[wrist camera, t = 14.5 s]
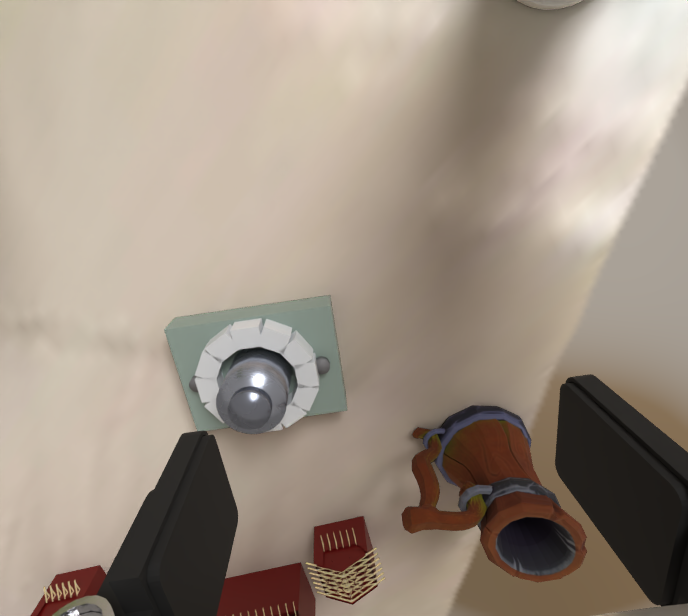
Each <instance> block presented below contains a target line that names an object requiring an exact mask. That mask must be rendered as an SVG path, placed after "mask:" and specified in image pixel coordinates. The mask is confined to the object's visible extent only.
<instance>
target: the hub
mask: <svg viewBox="0 0 688 616" xmlns="http://www.w3.org/2000/svg"><path fill="white" fill-rule="evenodd" d="M291 375H292V369H291V364H290V363H289V362H288V361H287V360H286V359H285V358H284V357H283V356H282V355H281V353H278V352H275V351H272V350H268V349H265V348H262V347H254V348H247V349H242V350H241V351H240V352H239V353H238V354H237V355H236V356H235V358H234V360H233V362H232V364H231V366H230V368H229V370H228V372H227V374H226V376H225V379H224V381H223V383H222V385H221V387H220V389H219V391H218V394H217V397H216V408H217V411H218V414H219V416H220V417H221V419H222V420H223V421H224V422H225V423H226V424H227V425H228V426H229V427H231V428H232V429H234V430H236V431H239V432H242V433H246V434H259V433H264V432H267V431H269V430H271V429H273V428H274V427H276V426H277V425H278V424H279V423H280V422H281V420H282V419H283V417H284V415H285V412H286V407H287V401H288V394H289V388H290V382H291Z"/></svg>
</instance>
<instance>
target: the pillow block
mask: <svg viewBox="0 0 688 616" xmlns="http://www.w3.org/2000/svg"><path fill="white" fill-rule="evenodd" d="M164 331H165V334H166V337H167V340H168V343H169V346H170V349H171V352H172V355H173V358H174V361H175V365H176V368H177V371H178V374H179V377H180V380H181V383H182V386H183V389H184V392H185V395H186V398H187V401H188V404H189V407H190V410H191V413H192V416H193V419H194V422H195V425H196V429H197V431H203V430H204V431H209V430H216V429H223V428H230V427H229V426H228V425H227V424H226V423H225V422H224V421H223V420H222V419H221V417H220V416H219V414H218V411H217V408H216V397H217V394H218V391H219V389H220V387H221V385H222V383H223V381H224V379H225V376H226V374H227V372H228V370H229V368H230V366H231V364H232V362H233V360H234V358H235V356H236V355H237V354H238V353H239V352H240V351H241V350H242V349H247V348H254V347H262V348H265V349H268V350H272V351H275V352H278V353H281V355H282V356H283V357H284V358H285V359H286V360H287V361H288V362H289V363H290V364H291V369H292V375H291V382H290V388H289V394H288V401H287V407H286V412H285V415H284V417H283V419H282V420H281V422H280V423H279V424H278V425H277V426H276V427H274V428H273V429H271V430H269V431H267V432H270V431H277V430H283V425H284V426H285V427H286V428H288V427H289V426H290V425H292V424H293V423H295V422H296V421H298V420H299V419H301V418H302V417H306V416H313V415H320V414H327V413H333V412H340V411H347V402H346V393H345V386H344V380H343V374H342V367H341V361H340V355H339V348H338V342H337V336H336V329H335V323H334V317H333V310H332V304H331V298H330V295H328V296H321V297H314V298H307V299H300V300H293V301H286V302H280V303H273V304H266V305H259V306H252V307H245V308H238V309H231V310H225V311H218V312H211V313H204V314H197V315H190V316H183V317H176V318H174V319H173V320H172V321H171V323H170V324H169V325H168V326H167V327H166V328H165V329H164Z"/></svg>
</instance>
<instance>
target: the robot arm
mask: <svg viewBox="0 0 688 616" xmlns="http://www.w3.org/2000/svg"><path fill="white" fill-rule="evenodd" d="M516 1H518V2H520V3H522V4H525V5H527V6H529V7H532V8H537V9H542V10H551V9H561V8H565V7H568V6H572V5H574V4H576V3H578V2H580V1H582V0H516ZM555 465H556V470H557V472H558V475H559V476H560V478H561V479H562V481H563V482H564V484H565V485H566V486H567V488H568V489H569V490H570V492H571V493H572V494H573V496H574V497H575V499H576V500H577V501H578V503H579V504H580V505H581V507H582V508H583V509H584V511H585V512H586V514H587V515H588V516H589V518H590V519H591V521H592V522H593V523H594V525H595V526H596V527H597V529H598V530H599V531H600V533H601V534H602V535H603V537H604V538H605V540H606V541H607V542H608V544H609V545H610V547H611V548H612V549H613V551H614V552H615V553H616V555H617V556H618V558H619V559H620V560H621V562H622V563H623V564H624V566H625V567H626V568H627V570H628V571H629V573H630V574H631V575H632V577H633V578H634V579H635V581H636V582H637V584H638V585H639V586H640V588H641V589H642V590H643V592H644V593H645V595H646V596H647V597H648V598H649V600H651V602H652V603H654V604H656V605H661V607H654V608H645V609H638V610H630V611H623V612H616V613H609V614H601V615H594V616H688V452H687V451H685V450H684V449H683V448H682V447H680V446H679V445H678V444H677V443H676V442H674V441H673V440H672V439H671V438H669V437H668V436H667V435H666V434H665V433H663V432H662V431H661V430H660V429H659V428H657V427H656V426H655V425H654V424H653V423H651V422H650V421H649V420H648V419H646V418H645V417H644V416H643V415H642V414H640V413H639V412H638V411H637V410H636V409H634V408H633V407H632V406H631V405H629V404H628V403H627V402H626V401H625V400H623V399H622V398H621V397H620V396H619V395H617V394H616V393H615V392H614V391H612V390H611V389H610V388H609V387H608V386H606V385H605V384H604V383H603V382H602V381H600V380H599V379H598V378H597V377H595V376H594V375H583V376H576V377H570V378H568V379H567V380H566V384H562V386H561V388H560V401H559V415H558V429H557V444H556V459H555ZM237 523H238V511H237V507H236V503H235V500H234V497H233V494H232V490H231V487H230V484H229V481H228V478H227V474H226V471H225V468H224V465H223V462H222V458H221V455H220V452H219V449H218V445H217V442H216V439H215V437H214V435H208V433H207V432H206V431H204V430H203V431H196V432H189V433H184V434H182V435H181V437H180V439H179V441H178V443H177V445H176V447H175V449H174V451H173V453H172V455H171V457H170V459H169V461H168V463H167V465H166V467H165V469H164V471H163V473H162V475H161V477H160V479H159V481H158V483H157V485H156V487H155V489H154V490H152V491H151V492H149V494H148V495H147V497H146V499H145V501H144V502H143V504H142V506H141V508H140V510H139V512H138V514H137V516H136V518H135V520H134V522H133V524H132V526H131V528H130V530H129V532H128V534H127V536H126V538H125V540H124V542H123V544H122V546H121V548H120V550H119V552H118V554H117V556H116V557H115V559H114V561H113V563H112V565H111V567H110V569H109V571H108V573H107V575H106V577H105V579H104V581H103V583H102V585H101V587H100V589H99V591H98V593H97V595H95V596H85V597H83V598H80V599H77V600H74V601H72V602H71V603H69V604H67V605H65V606H64V607H62V608H60V609H59V610H58V611H57V612H56V613H54V614H53V615H52V616H217V611H218V607H219V603H220V598H221V594H222V589H223V585H224V581H225V576H226V572H227V568H228V563H229V559H230V554H231V550H232V546H233V541H234V537H235V532H236V528H237Z"/></svg>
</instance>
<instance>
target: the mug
mask: <svg viewBox="0 0 688 616" xmlns="http://www.w3.org/2000/svg"><path fill="white" fill-rule="evenodd" d="M412 435H413V437H414V438H421V439H423V444H424V446H425V448H426V450H423V451H421V452H419V453H418V454H416V455H415V457H414V458H413V460H412V472H413V474H414V476H415V478H416V480H417V482H418V485H419V488H420V492H421V500H420V505H419V507H407V508H405V510H404V511H403V513H402V521H403V526H404V529H405V530H406V531H408V532H410V533H415V532H418V531H421V530H433V529H439V530H450V531H459V530H466V529H470V528H472V527H475V526H476V525H478V527H479V529H480V530H481V538H480V541H481V544H482V546H483V548H484V550H485V552H486V555H487V557H488V559H489V560H490V561H491V562H493V563H494V564H496V565H497V566H499V567H500V568H502V569H503V570H504V571H506V572H507V573H509V574H510V575H512V576H516V577H518V578H521V579H526V580H531V581H535V582H543V581H550V580H556V579H561V578H562V577H564V576H566V575H568V574H570V573H572V572H573V571H575V570H576V569H578V568H579V567H580V566H581V564H582V563H583V560H584V558H585V555H586V553H587V550H586V548H585V546H584V545H585V541H586V538H587V537H586V535H585V532H584V530H583V528H582V526H581V524H580V523H578V522H577V521H576V520H575V519H574V518H572V517H571V516H570V515H569V514H567V513H566V512H565V511H564V510H563V509H561V507H560V505H559V502H558V500H557V498H556V496H555V494H554V493H552V492H551V491H549V490H547V489H546V488H544V487H543V486H542V485H541V483H540V481H539V479H538V477H537V475H536V473H535V471H534V469H533V464H532V459H531V453H530V446H531V438H530V436H529V434H528V432H527V430H526V428H525V425H524V423H523V421H522V419H521V418H520V417H519V416H518V415H515V414H513V413H511V412H509V411H507V410H504V409H502V408H500V407H497V406H471V407H469V408H467V409H465V410H463V411H460V412H458V413H456V414H454V415H452V416H450V417H448V419H447V420H446V421H445V423H444V424H443V425H442V427H441V428H439V429H433V430H428V429H424V428H419V427H418V428H417V429H416V430H415V431H414V432H413V434H412ZM433 461H434V462H435V464H436V465H437V467H438V468H439V470H440V471H441V473H442V474H443V476H444V478H445V479H446V481H447V482H449V483H451V484H453V485H456V486H458V487H460V488H461V489H460V492H459V496H460V497H459V504H458V506H459V508H460V510H461V511H462V512H447V511H439V510H438V509H437V508H436V504H437V502H438V499H439V494H440V489H439V483H438V480H437V477H436V474H435V472H434V470H433V467H432V465H431V463H432V462H433Z"/></svg>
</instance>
